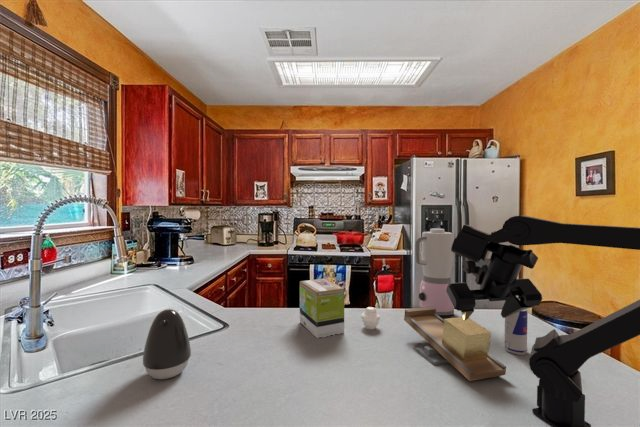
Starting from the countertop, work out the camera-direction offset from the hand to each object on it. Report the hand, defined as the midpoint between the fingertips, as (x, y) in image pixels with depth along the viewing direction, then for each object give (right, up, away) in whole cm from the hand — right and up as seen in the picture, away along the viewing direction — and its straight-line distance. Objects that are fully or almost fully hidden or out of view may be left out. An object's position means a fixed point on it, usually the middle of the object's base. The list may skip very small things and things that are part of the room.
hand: (483, 317), depth 74 cm
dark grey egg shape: (-75, -13, 0) cm, 76 cm away
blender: (+4, -13, +44) cm, 46 cm away
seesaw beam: (-4, -11, +10) cm, 15 cm away
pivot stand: (-4, -14, +10) cm, 18 cm away
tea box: (-39, -13, +29) cm, 50 cm away
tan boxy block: (-3, -10, +4) cm, 11 cm away
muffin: (-22, -13, +29) cm, 39 cm away
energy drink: (+16, -14, +13) cm, 25 cm away
